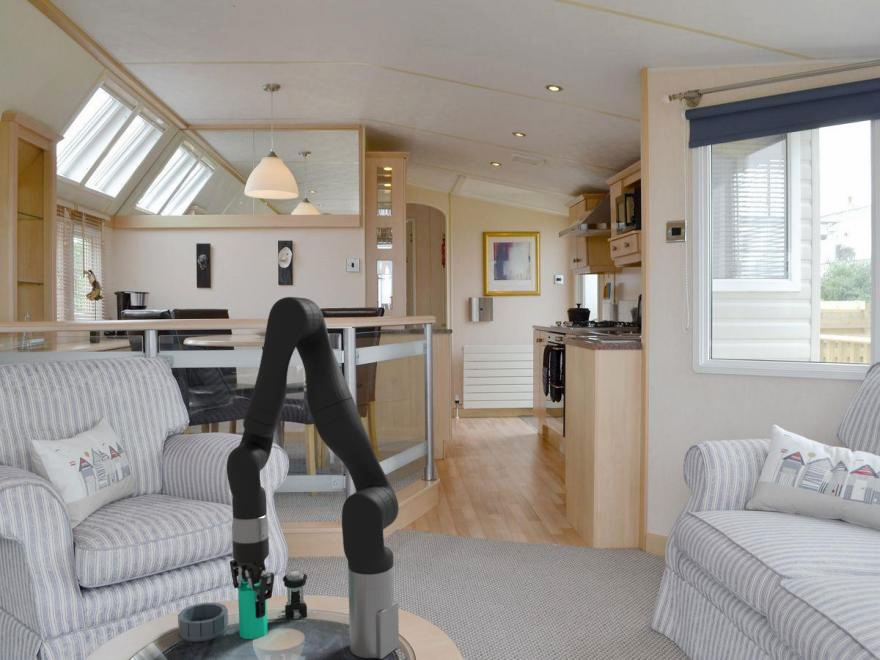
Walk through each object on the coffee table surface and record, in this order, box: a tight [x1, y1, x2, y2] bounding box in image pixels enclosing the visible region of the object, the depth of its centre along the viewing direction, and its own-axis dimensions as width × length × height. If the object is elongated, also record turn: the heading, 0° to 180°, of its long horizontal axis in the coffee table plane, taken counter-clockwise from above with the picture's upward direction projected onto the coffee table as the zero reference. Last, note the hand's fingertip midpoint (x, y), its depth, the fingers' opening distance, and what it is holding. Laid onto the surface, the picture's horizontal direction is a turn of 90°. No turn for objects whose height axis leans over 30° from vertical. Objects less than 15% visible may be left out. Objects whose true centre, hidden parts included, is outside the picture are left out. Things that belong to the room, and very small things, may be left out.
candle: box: [237, 582, 269, 640], centre depth 162 cm, size 6×6×12 cm
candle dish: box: [177, 602, 229, 643], centre depth 163 cm, size 10×10×4 cm
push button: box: [277, 569, 308, 620], centre depth 169 cm, size 7×5×10 cm
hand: (252, 612), depth 162 cm, fingers closed on candle, 4 cm apart
